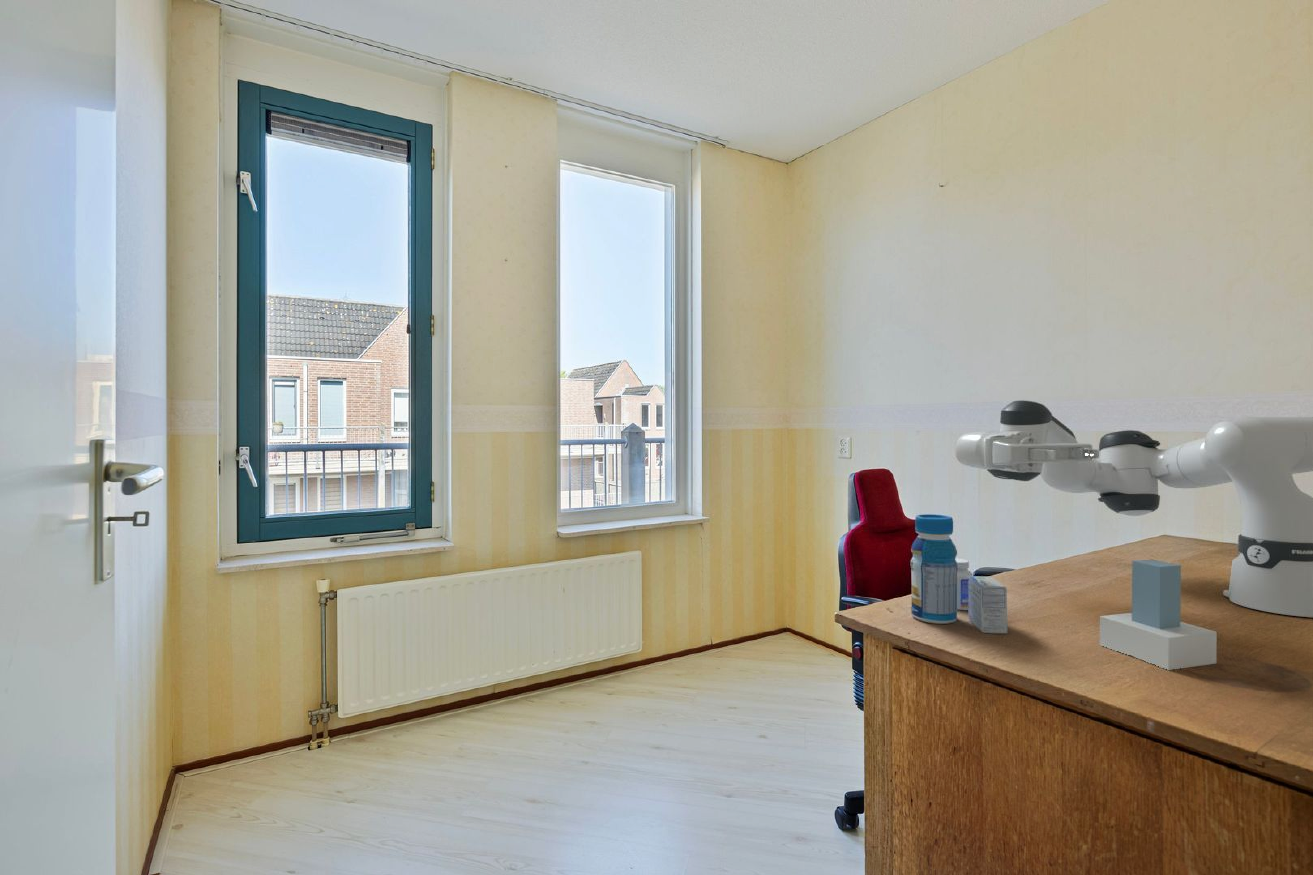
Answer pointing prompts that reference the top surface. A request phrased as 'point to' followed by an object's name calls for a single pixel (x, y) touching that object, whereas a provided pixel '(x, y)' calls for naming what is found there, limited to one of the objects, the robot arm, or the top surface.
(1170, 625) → the block
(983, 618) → the medicine box
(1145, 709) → the top surface
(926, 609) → the beverage bottle
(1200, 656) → the block
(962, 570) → the pill bottle
